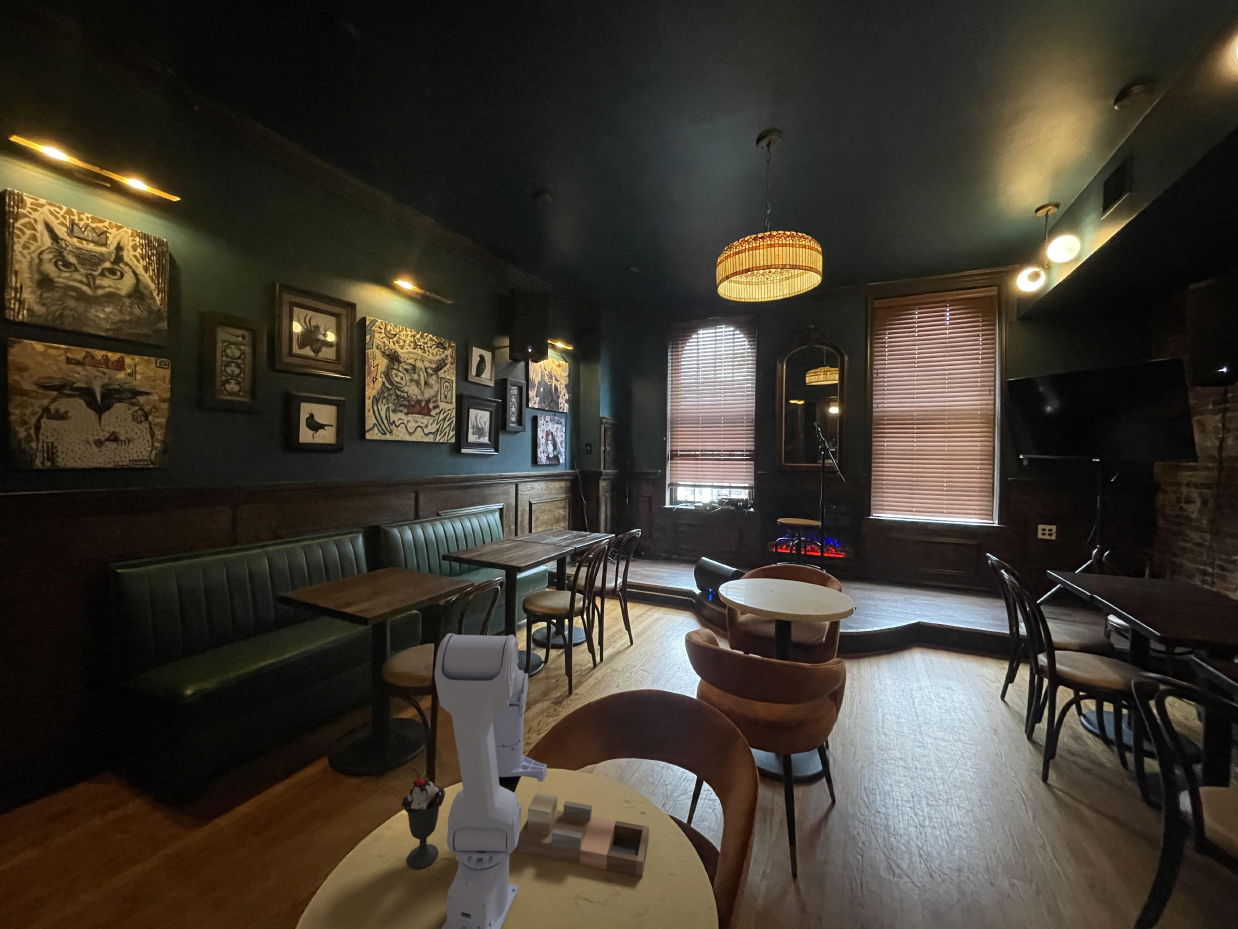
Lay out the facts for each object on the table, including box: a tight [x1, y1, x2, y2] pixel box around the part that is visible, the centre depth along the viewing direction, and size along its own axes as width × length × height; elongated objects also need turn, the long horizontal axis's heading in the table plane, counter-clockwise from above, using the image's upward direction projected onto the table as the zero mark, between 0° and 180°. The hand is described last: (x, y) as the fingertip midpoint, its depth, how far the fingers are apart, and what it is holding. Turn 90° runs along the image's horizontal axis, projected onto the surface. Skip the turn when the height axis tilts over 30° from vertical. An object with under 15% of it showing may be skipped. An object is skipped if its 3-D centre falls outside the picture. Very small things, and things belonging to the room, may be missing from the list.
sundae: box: [401, 767, 446, 870], centre depth 81 cm, size 7×7×15 cm
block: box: [527, 792, 558, 835], centre depth 86 cm, size 4×4×4 cm
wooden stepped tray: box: [517, 800, 650, 878], centre depth 85 cm, size 8×22×4 cm, turn 79°
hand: (505, 812), depth 88 cm, fingers closed
